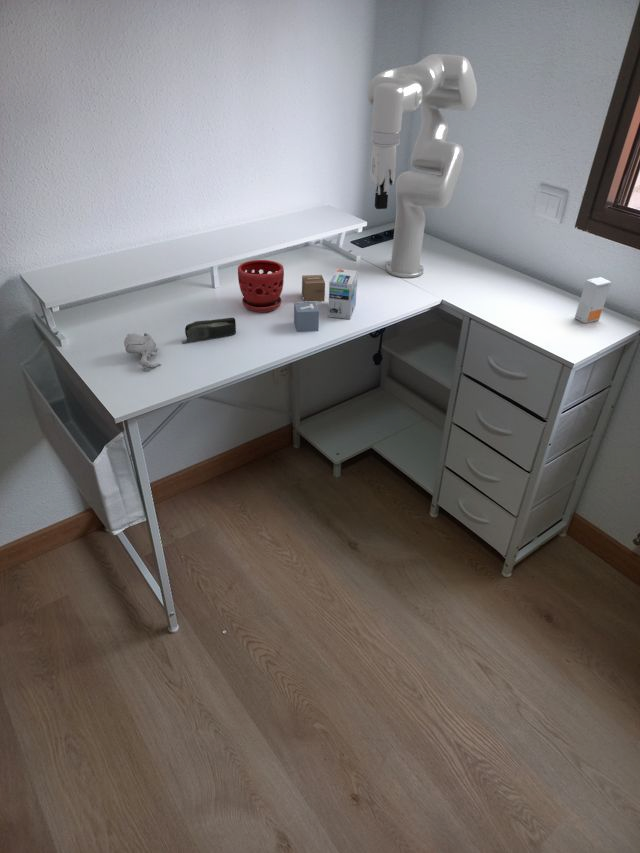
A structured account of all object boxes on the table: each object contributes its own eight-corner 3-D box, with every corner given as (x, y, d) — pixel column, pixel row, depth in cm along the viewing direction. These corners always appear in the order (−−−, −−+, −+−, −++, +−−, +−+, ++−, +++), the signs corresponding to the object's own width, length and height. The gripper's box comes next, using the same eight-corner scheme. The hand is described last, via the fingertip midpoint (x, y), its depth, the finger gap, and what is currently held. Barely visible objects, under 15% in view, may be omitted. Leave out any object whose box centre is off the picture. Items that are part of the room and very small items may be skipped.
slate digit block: (294, 322, 176) (294, 302, 172) (315, 321, 177) (315, 301, 173) (296, 332, 171) (297, 311, 167) (318, 331, 172) (319, 310, 168)
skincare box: (585, 324, 181) (597, 285, 174) (574, 318, 184) (585, 279, 177) (600, 320, 183) (612, 281, 176) (588, 314, 186) (600, 276, 179)
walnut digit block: (301, 294, 192) (302, 274, 188) (321, 293, 193) (321, 274, 189) (304, 302, 187) (305, 282, 183) (324, 301, 188) (325, 282, 184)
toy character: (125, 373, 150) (120, 342, 158) (159, 379, 155) (153, 349, 162) (132, 355, 147) (126, 324, 154) (167, 362, 152) (160, 331, 159)
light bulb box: (350, 320, 178) (352, 284, 172) (327, 317, 179) (328, 281, 173) (356, 304, 187) (358, 270, 180) (334, 302, 188) (335, 267, 181)
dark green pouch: (233, 314, 168) (178, 323, 162) (237, 319, 166) (181, 328, 160) (233, 331, 171) (179, 340, 165) (237, 336, 169) (183, 345, 163)
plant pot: (293, 305, 184) (293, 266, 177) (260, 319, 177) (259, 279, 170) (263, 292, 192) (262, 254, 184) (230, 304, 184) (227, 265, 177)
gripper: (365, 130, 168) (362, 199, 179) (378, 145, 156) (373, 217, 168) (392, 130, 169) (387, 198, 180) (407, 144, 157) (400, 216, 169)
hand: (380, 207), depth 174 cm, fingers closed
